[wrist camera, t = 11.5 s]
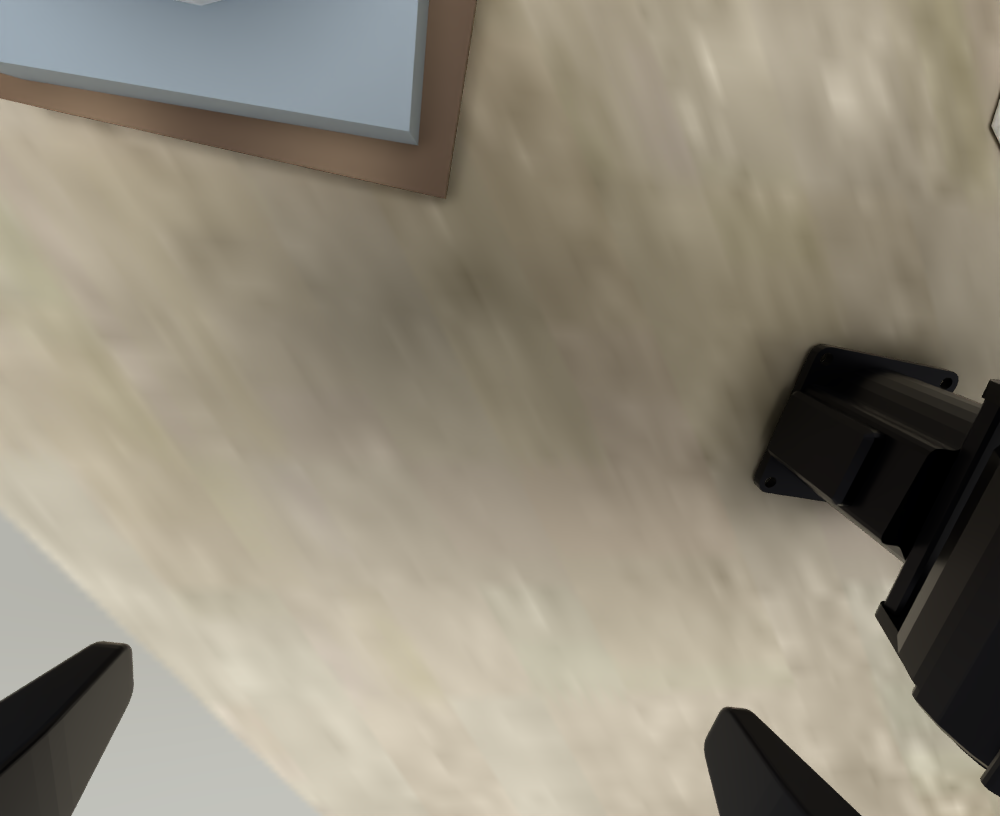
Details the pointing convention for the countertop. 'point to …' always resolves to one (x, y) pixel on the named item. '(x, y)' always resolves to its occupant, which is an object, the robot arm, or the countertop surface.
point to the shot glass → (199, 1)
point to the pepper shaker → (997, 122)
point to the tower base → (299, 144)
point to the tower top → (234, 57)
